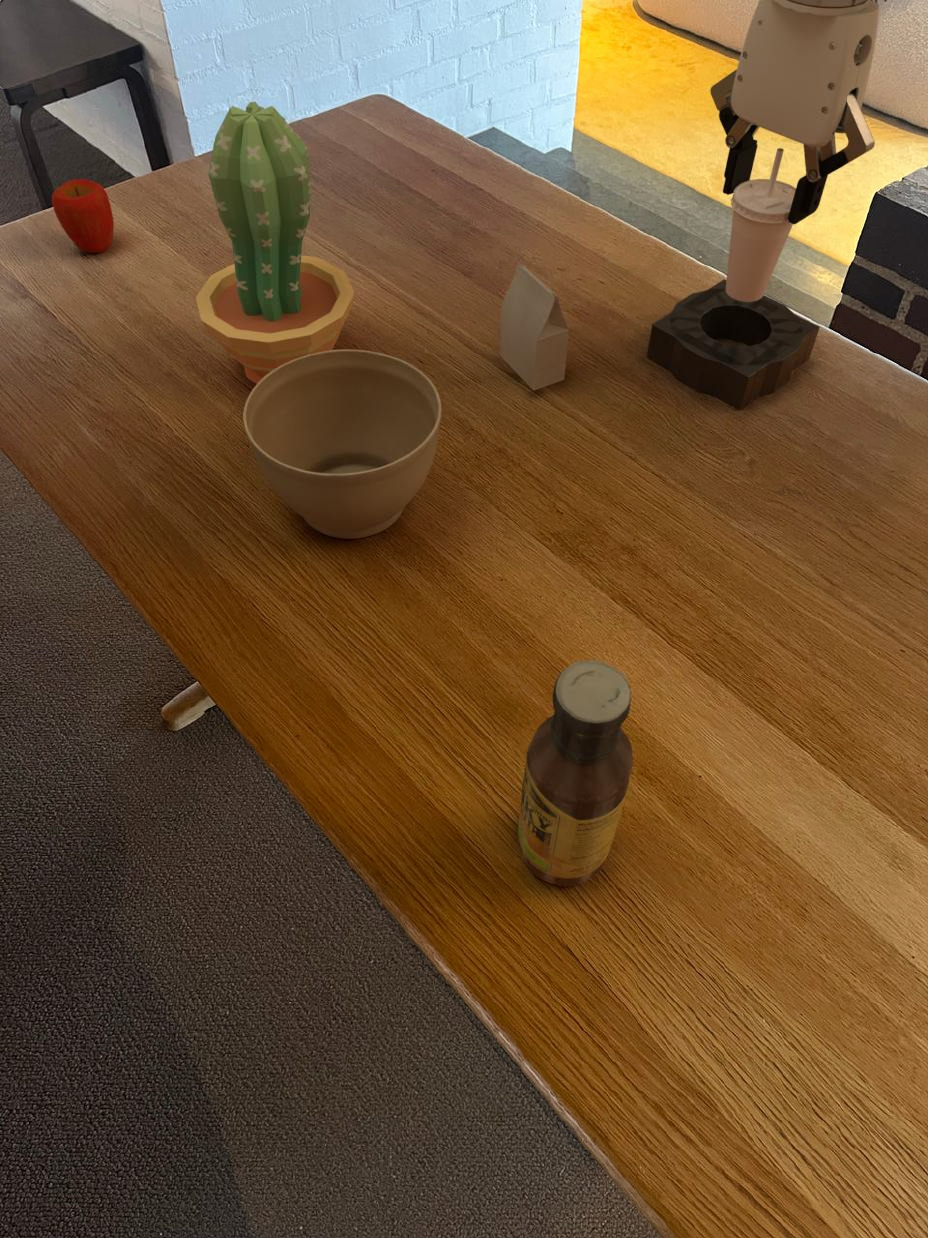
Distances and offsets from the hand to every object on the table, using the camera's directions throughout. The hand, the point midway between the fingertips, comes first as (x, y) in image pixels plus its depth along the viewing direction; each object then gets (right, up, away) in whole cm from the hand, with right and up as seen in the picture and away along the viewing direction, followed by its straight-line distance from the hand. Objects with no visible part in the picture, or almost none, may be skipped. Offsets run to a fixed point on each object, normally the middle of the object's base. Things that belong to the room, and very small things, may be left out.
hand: (767, 201), depth 87 cm
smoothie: (0, -6, +7) cm, 9 cm away
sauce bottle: (-21, -54, -21) cm, 61 cm away
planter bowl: (-37, -28, 0) cm, 46 cm away
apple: (-72, +6, +27) cm, 77 cm away
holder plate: (0, -11, +13) cm, 17 cm away
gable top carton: (-21, -12, +12) cm, 27 cm away
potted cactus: (-46, -11, +13) cm, 49 cm away
